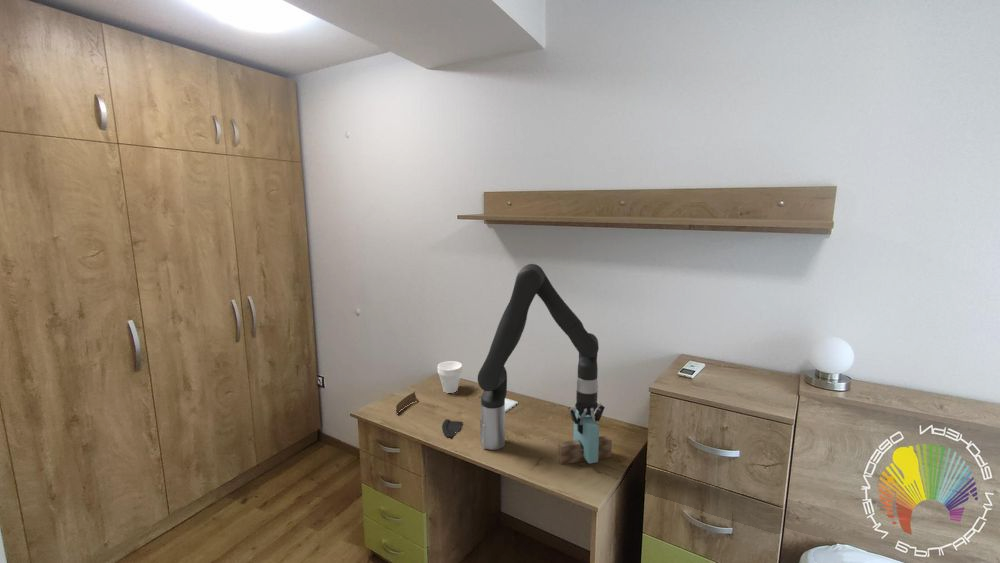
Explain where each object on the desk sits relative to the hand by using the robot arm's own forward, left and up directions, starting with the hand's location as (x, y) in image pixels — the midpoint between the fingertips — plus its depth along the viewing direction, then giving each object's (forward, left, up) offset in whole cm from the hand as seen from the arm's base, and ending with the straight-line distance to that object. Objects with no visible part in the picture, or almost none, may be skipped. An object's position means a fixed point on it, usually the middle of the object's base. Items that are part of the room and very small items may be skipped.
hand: (585, 432), depth 164 cm
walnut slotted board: (0, 0, -11) cm, 11 cm away
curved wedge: (-46, +34, -11) cm, 58 cm away
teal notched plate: (0, 0, -8) cm, 8 cm away
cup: (-41, +71, -11) cm, 83 cm away
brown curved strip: (-63, +58, -11) cm, 86 cm away
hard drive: (-19, +48, -11) cm, 53 cm away
